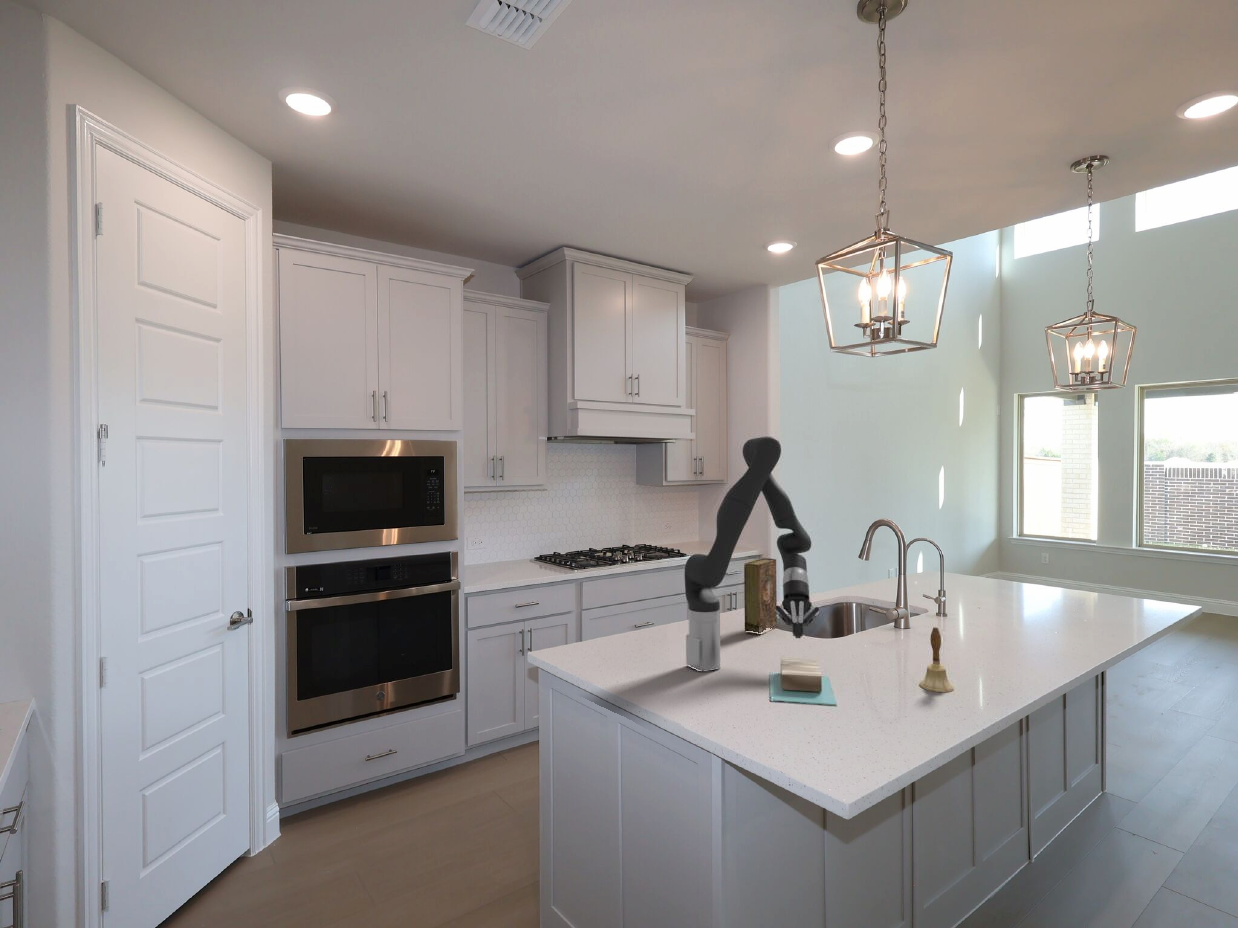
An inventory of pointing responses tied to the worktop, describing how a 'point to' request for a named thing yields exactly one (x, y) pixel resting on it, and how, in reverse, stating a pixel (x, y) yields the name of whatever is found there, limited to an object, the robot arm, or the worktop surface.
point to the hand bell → (936, 668)
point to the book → (760, 595)
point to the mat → (802, 692)
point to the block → (800, 675)
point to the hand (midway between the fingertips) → (798, 636)
